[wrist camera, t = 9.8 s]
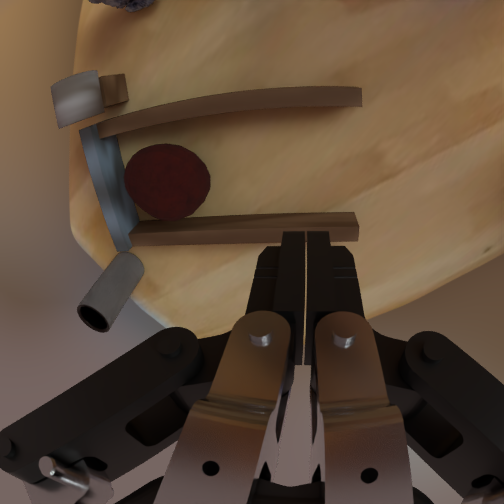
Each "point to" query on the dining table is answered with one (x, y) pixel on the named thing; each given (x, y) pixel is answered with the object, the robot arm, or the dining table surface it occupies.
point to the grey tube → (110, 292)
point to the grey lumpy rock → (120, 0)
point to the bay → (115, 91)
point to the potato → (167, 181)
